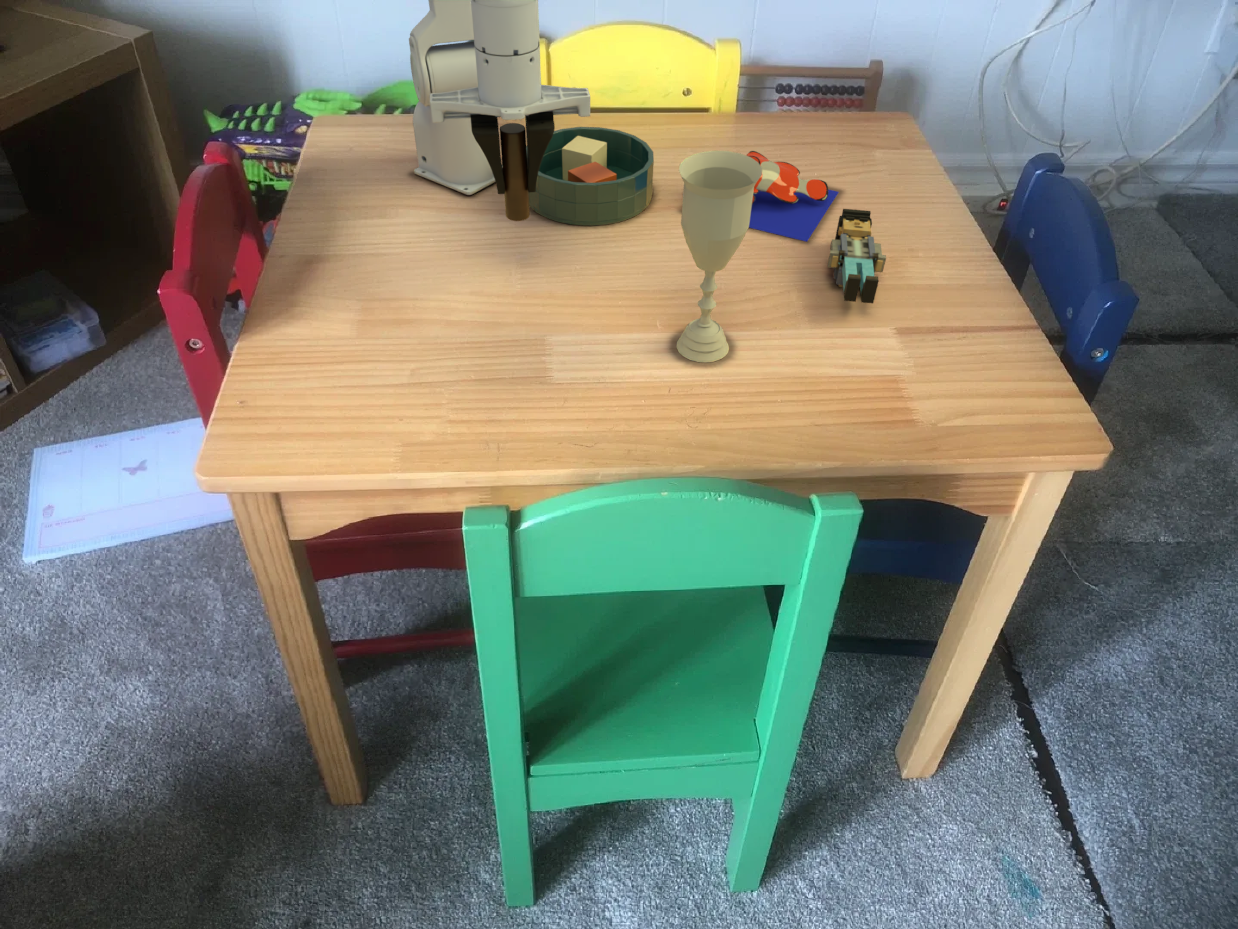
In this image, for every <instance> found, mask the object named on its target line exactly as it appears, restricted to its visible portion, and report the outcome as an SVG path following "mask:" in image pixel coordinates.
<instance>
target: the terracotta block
mask: <svg viewBox="0 0 1238 929" xmlns="http://www.w3.org/2000/svg"><path fill="white" fill-rule="evenodd" d="M616 179H617V174H616V173H614V172H612V171H611V170H609V169H607V168H605V167H604V166H602V165H600V164H599V163H597V162H592V163H589V164H586V165H583V166H580V167H577V168H574V169H571V170H568V181H571V182H581V183H599V182H606V181H614V180H616Z"/></svg>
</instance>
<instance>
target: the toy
mask: <svg viewBox="0 0 1238 929" xmlns="http://www.w3.org/2000/svg"><path fill="white" fill-rule="evenodd" d="M871 213H872V212H871V210H865V209H864V210H862V209H851V208H843V209H842V213H841V215H839V217H838V222H837V228H836V231H835V237H834V238H832V239H831V243H830V248H829V256H828V261H827V268H831V269H833V280H835V282H836V283H835V284H836V286H837V285H838V288H842V289H843V290H842V292H843V301H844V302H854V303H856V302H857V298H858V294H859V290H860V302H861V303H865V304H874V302H875V298H876V294H877V289H878V286H879V283H880V282H879V280H880V279H879V276H875V274H876V273H884V269H885V264H886V260H887V255H886V254H883V250H882V243H880V242H879V243H878V242H875V237H874V236H872V226H873V221H872V218H871Z"/></svg>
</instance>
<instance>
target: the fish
mask: <svg viewBox="0 0 1238 929" xmlns="http://www.w3.org/2000/svg"><path fill="white" fill-rule="evenodd" d="M745 155H746V156H749V157H751V158H752V159H754V160H755V161H757V162H758V163H759V165H760V166H761V168H762V175H761V177H760V178H759V180H758V181H757V183H756V184H755V186H754V192H753V195H757V194H758V193H759V192H763V193H767V194H770V195H772V196H773V197H775V198H776V199H777V200H779V201H781V202H783V203H785V204H789V205H793V204H796V203H797V202H798V201H799V197H798V196H797V195H796V194H803V195H805V196H807V197H809V198H810V199H812V200H815V201H818V202H824V201H825V200H826V199H827V198H828V196H829V190H830V189H829V185H828V183H827V182H826V181H824V180H822V179H817V178H811V179H810V178H809V179H803V178H800V177H799V176H800V174H801V172H800V169H799V168H797V167H796V166H795V165H794V164H792V163H789V162H787V161H772V160H769V159H768V158H767V157H766V156H765V155H764V154H762V153H760V152H758V151H755V150H750V151H749V152H748V153H746V154H745Z"/></svg>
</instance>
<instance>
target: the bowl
mask: <svg viewBox="0 0 1238 929" xmlns="http://www.w3.org/2000/svg"><path fill="white" fill-rule="evenodd" d="M577 136H581V137H585V138H590V139H594V140H598V141H602V142H606V143H607V169H609V170H611V171H612V172H614V173H616V174H617V179H616V180H614V181H606V182H599V183H581V182H571V181H566V180H563V169H562V148H563V147H564V146H566V145H567V144H568V143H569V142H571V141H572V140H573V139H574V138H576V137H577ZM526 150H527V145H526ZM654 158H655V156H654V151H653V149H652V148H651V147H650V146H649V144H648V143H647V142H646V141H645V140H643V139H641V138H640V137H638V136H636V135H634V134H631V133H628V132H625V131H622V130H618V129H613V128H606V127H601V126H600V127H599V126H576V127H567V128H560V129H555V130H554V133H553V137H552V139H551V141H550V142H549V144H548V146H547V149H546V151H545V153H544V156H543V158H542V161H541V165H540V168H539V172H538V176H537V182H536V192H532V193H529V208H530V209H531V210H533V211H534V212H535V213H537V214H538V215H540V216H541V217H544V218H546V219H549V220H551V221H554V222H558V223H562V224H567V225H572V226H573V225H574V226H587V227H589V226H590V227H591V226H605V225H611V224H616V223H622V222H625V221H627V220H630V219H632V218H634V217H636V216H638V215H639V214H641V213H642V212H644V211H645V210H646V209H647V208H648V207H649V205H650V204H651V200H652V197H653V182H654V164H655V161H654Z"/></svg>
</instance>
